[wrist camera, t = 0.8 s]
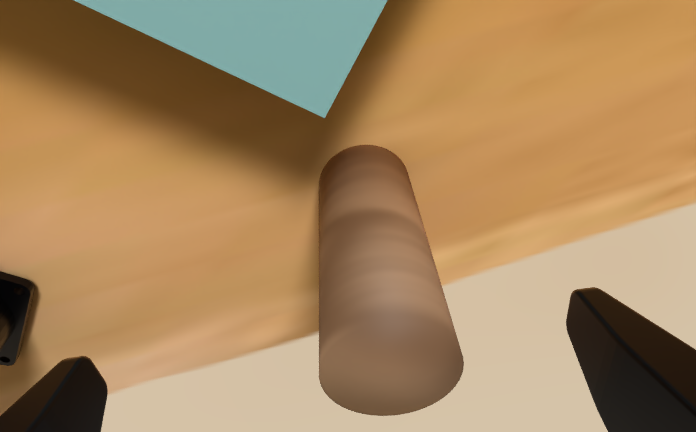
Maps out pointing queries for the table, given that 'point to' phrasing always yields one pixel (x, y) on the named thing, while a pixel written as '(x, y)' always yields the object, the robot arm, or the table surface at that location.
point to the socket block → (261, 39)
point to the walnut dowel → (379, 291)
